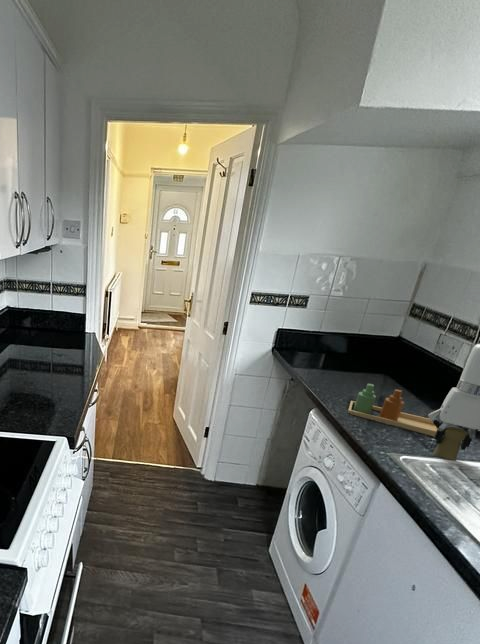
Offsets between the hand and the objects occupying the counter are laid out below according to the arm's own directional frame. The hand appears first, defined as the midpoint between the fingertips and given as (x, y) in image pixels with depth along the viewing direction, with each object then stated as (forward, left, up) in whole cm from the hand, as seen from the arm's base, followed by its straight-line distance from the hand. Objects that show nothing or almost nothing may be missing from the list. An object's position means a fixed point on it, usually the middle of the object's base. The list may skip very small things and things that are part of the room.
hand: (449, 444), depth 123 cm
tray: (+13, -25, -6) cm, 29 cm away
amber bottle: (+14, -25, -5) cm, 29 cm away
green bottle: (+23, -25, -5) cm, 34 cm away
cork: (0, 0, -6) cm, 6 cm away
